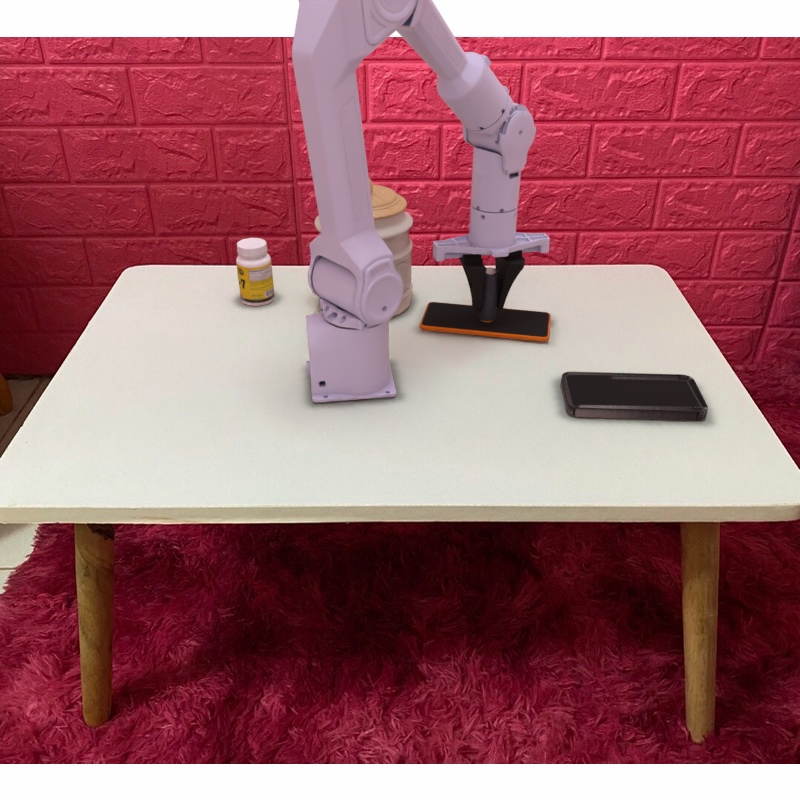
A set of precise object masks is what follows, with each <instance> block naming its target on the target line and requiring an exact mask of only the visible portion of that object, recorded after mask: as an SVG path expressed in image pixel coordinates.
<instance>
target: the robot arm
mask: <svg viewBox="0 0 800 800" xmlns="http://www.w3.org/2000/svg"><path fill="white" fill-rule="evenodd" d="M298 4H299V5H298V10H297V16H296V22H295V28H294V32H293V33H294V34H293V41H292V45H291V58H292V59H291V62H292V67H293V73H294V77H295V83H296V89H297V96H298V101H299V109H300V113H301V119H302V126H303V131H304V136H305V143H306V149H307V154H308V159H309V160H308V161H309V165H310V171H311V178H312V182H313V189H314V195H315V200H316V201H315V202H316V206H317V212H318V213H317V214H318V215H319V219H320V224H321V230H322V233H321V234H319V233H318V235H317V236H315V237H314V238H313V240H312V241H310V242H309V245H308V246H309V252H310V263H309V266H308V270H307V284H308V286H309V289H310V290H311V292H312V293H313V294H314V295H315V297H318V298H319V306H320V309H322V310H321V311H319V312H315V313H311V314H307V315H305V323H306V334H307V335H306V337H307V347H308V348H307V349H308V360H306V362H305V363H306V365H305V366H306V376H307V377H310V388H311V389H310V390H311V400H312V402H313V403H316V404H317V403H329V402H343V401H355V400H370V399H381V398H382V399H383V398H394V397H396V396H397V388H396V385H395V384H396V383H395V380H394V376H393V373H392V368H391V364H390V331H389V330H390V327H389V326H390V324H389V323H390V322H389V321H390V320H392V319H393V317H394V316H393V315H394V313H395V312H396V311H397V309H398V307H399V305H400V303H401V300H402V297H403V281H402V278H401V276H400V275H399V273H398V272H397V271H396V269H395V266H394V262H393V254H392V252H391V251H390V249H389V248H388V247H387V245H386V244H385V242H384V241H383V240H382V238H381V237H380V236H379V234H378V233H377V231H376V229H375V223H374V215H373V207H372V199H371V191H370V183H369V178H370V177H369V169H368V160H367V152H366V145H365V136H364V135H365V134H364V128H363V120H362V119H363V118H362V113H361V112H362V111H361V103H360V96H359V89H358V81H357V80H358V79H357V69H358V68H359V66H360V65H361V64H362V62H363V60H364V59H365V58H366V57H368V56H369V55H371V54H372V53H373V51H375V50H377V48H378V47H379V46H381V45H382V44H383V43H384V42H385V41H386V40H387V39H388V38H389V37H391V35H393V34H394V33H395V32H397V34H399V36H400V37H402V38H403V40H404V41H405V42H406V43H407V44H408V45H409V46H410V48H412V49H413V51H415V52H416V54H417V55H418V56H419V57H420V58H421V60H423V61H424V62H425V63H426V64H427V66H428V67H429V68H430V69H431V70H432V71H433V72H434V73H435V74H436V76H437V79H436V91H437V94H438V96H439V97H440V98H441V99H442V101H443V102H444V104H446V105H447V106H448V108H449V109H450V110H451V111H452V113H453V114H454V115H455V116H456V118H457V119H458V120H459V121H460V123H461V127H462V130H461V131H462V137H463V140H464V142H465V143H467V144H469V145H470V146H471V147H473V149H472V166H471V167H472V170H471V187H470V188H471V189H470V190H471V191H470V206H469V228H468V234H464V235H459V236H456V237H451V238H447V239H442V240H433V241H432V257H433V259H434V260H435V262H445V260H447V259H458V260H459V262H460V264H461V266H462V269H463V272H464V274H465V277H466V279H467V283H468V287H469V291H470V298H471V305H472V306H473V307H474V309H475V310H476V311H481V310H482V300H483V284H484V278H485V274H486V270H487V268H488V267H486V266H485V264H484V259H483V258H482V257H485V256H491V257H493V258H494V263H495V267H494V268H495V269H497V270H498V271H499V286H498V299H497V308H498V309H503V308H504V307H505V304H506V301H507V298H508V295H509V293H510V291H511V288H512V287H513V284H514V282H515V280H516V279H517V277H518V276H519V275H520V273H521V272H522V271H523V269H524V268H525V266H526V265H525V264H526V259H525V258H524V257H523V253H534V252H539V253H540V254H548V253H549V251H550V244H551V238H550V237H549V235H548V234H547V233H546V232H520V231H519V232H518V231H517V223H518V212H519V203H520V201H519V200H520V191H521V190H520V188H521V179H522V178H521V176H522V171H523V170H524V169H525V166H526V165H527V161H528V160H527V158H528V153H529V150H530V148H531V147H532V145H533V143H534V140H535V137H536V133H537V126H535V122H534V118H533V115H532V113H531V112H530V110H529V109H528V108H527V107H526V106H525V105H524V104H522V103H521V104H520V103H516V102H514V100H513V99H512V97H511V96H510V90H509V89H508V87H507V86H506V85H503V84H502V83H501V82H500V80H499V78H498V77H497V76H496V75H495V73H494V71H492V69H491V68H490V67H491V65H492V61H491V60H490V59H489V57H488V56H487V55H486V54H485V55H484V54H480V53H478V52H474V51H464V50H463V48H462V46H461V45H460V43H459V41H458V40H457V38H456V37H455V35H454V33H453V32H452V30H451V28H450V26H449V25H448V23H447V22H446V21H445V19H444V17H443V15H441V12H440V10H439V9H438V7H437V6H436V4H435V3H434V1H433V0H298ZM392 316H393V317H392Z"/></svg>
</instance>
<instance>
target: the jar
mask: <svg viewBox="0 0 800 800" xmlns="http://www.w3.org/2000/svg"><path fill="white" fill-rule="evenodd" d="M369 183H370V191H371V199H372V207H373V215H374V223H375V229H376V231H377V233H378V234H379V236H380V237H381V238H382V240H383V241H384V242H385V244H386V245H387V247H388V248H389V249H390V251H391V252H392V254H393V262H394V266H395V269H396V271H397V272H398V273H399V275H400V276H401V278H402V281H403V297H402V300H401V303H400V305H399V307H398V309H397V311H396V312H395V313H394V315H393V316H392V318H394V317H396V316H398V315H401V314H402V313H404V312H405V311H406V310H407V309H408V308H409V306H410V305H411V300H412V297H413V293H414V292H413V289H414V288H413V282H412V255H413V253H412V250H413V247H414V244H413V240H412V239H411V238H410V229H411V228H412V227H413V224H414V218H413V216H412V215H411V214H410V213H409V212H408V211H406V209H407V205H408V202H407V199H405V197H404V196H402V195H401V194H398V193H397V192H396V191H395V190H394V189H391V188H390V187H387V186H384V185H379V184H373V181H372V179H371V178H370V177H369ZM314 227H315V229H316V230H317V231H318V235H319V234H321V233H322V230H321V224H320V219H319V214H318V215H317V216H316V217H315V219H314Z"/></svg>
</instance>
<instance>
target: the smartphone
mask: <svg viewBox="0 0 800 800" xmlns="http://www.w3.org/2000/svg"><path fill="white" fill-rule="evenodd" d="M551 319H552V315H551V313H550V312H548V311H537V310H529V309H526V310H525V309H517V308H507V307H506V308H504V307H503V309H498V308H497V313H496V319H495V320H493V321H492V322H483V321H481V320H480V319H479V318H478V311H476V310H475V309H474V307H473V306H472V304H460V303H452V302H451V303H450V302H439V301H430V302H428V303H427V304H426V306H425V310H424V313H423V315H422V318H421V321H420V323H419V328H420V329H421V330H423V331H429V332H439V333H450V334H462V335H471V336H481V337H490V338H502V339H510V340H511V339H512V340H523V341H531V342H547V341H549V339H550V333H551V332H550V331H551Z"/></svg>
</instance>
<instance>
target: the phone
mask: <svg viewBox="0 0 800 800" xmlns="http://www.w3.org/2000/svg"><path fill="white" fill-rule="evenodd" d="M560 388H561V391H562V395H563V400H564V405H565V409H566V412H567V413H568V415H570V416H572V417H575V418H597V419H598V418H599V419H631V420H633V419H634V420H663V421H664V420H666V421H668V420H670V421H673V420H674V421H704V420H705V419H706V417H707V414H708V412H709V411H708V410H709V406H708V404H707V402H706V400H705V398H704V396H703V394H702V393H701V390H700V388H699V386H698V384H697V383H696V381H695V379H694V378H693V377H691V376H690V375H687V374H682V373H681V374H680V373H679V374H678V373H675V374H674V373H646V372H645V373H643V372H642V373H641V372H640V373H639V372H638V373H637V372H635V373H634V372H605V371H604V372H603V371H601V372H600V371H595V372H594V371H565V372H563V373H562V374H561V379H560Z"/></svg>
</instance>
